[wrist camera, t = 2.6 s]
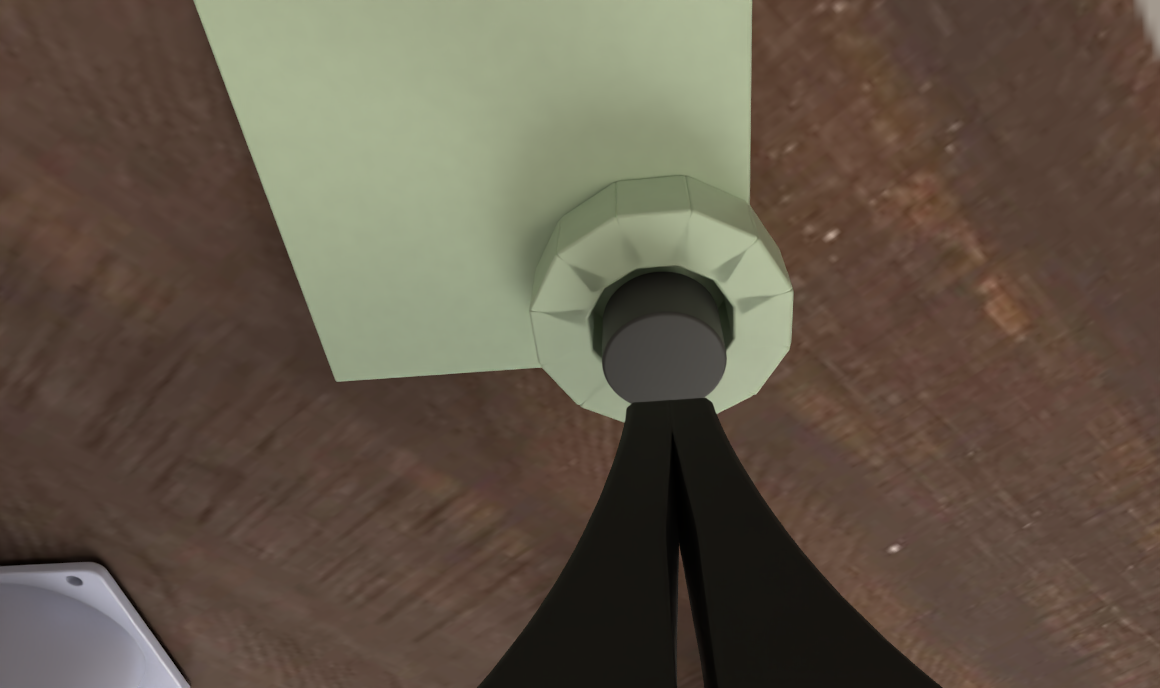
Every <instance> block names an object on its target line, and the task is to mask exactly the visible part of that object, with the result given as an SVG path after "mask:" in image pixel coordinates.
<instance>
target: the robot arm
mask: <svg viewBox="0 0 1160 688" xmlns="http://www.w3.org/2000/svg"><path fill="white" fill-rule="evenodd" d="M679 545H680V550H681V556H682V561H683V567H684V572H685V578H686V583H687V589H688V594H689V600H690V605H691V611H692V616H693V621H694V627H695V632H696V638H697V643H698V649H699V654H700V660H701V666H702V673H703V680H704V687H705V688H942V687H941V686H940V685H939V684H937V683H936V682H935V681H934V680H933V679H931V678H930V677H929V676H928V675H926V674H925V673H924V672H923V671H922V670H920V669H919V668H918V667H917V666H916V665H915V664H913V663H912V662H911V661H910V660H909V659H908V658H907V657H905V656H904V655H903V654H902V653H901V652H900V651H899V650H898V649H896V648H895V647H894V646H893V645H892V644H891V643H890V642H888V641H887V640H886V639H885V638H884V637H883V636H882V635H881V634H880V633H879V632H878V631H877V630H876V629H875V628H874V627H873V626H872V625H871V624H870V623H869V622H868V621H867V620H866V619H865V618H864V617H863V616H862V615H861V614H860V613H859V612H858V611H857V610H856V609H855V608H853V607H852V606H851V605H850V604H849V603H848V602H847V601H846V600H845V599H844V598H843V597H842V596H841V595H840V593H839V592H838V591H837V590H836V589H835V588H834V587H833V586H832V585H831V584H830V582H829V581H828V580H827V579H826V578H825V577H824V576H823V575H822V574H821V573H820V571H819V570H818V569H817V568H816V567H815V566H814V564H813V563H812V562H811V561H810V560H809V559H808V557H807V556H806V555H805V554H804V553H803V551H802V550H801V549H800V548H799V546H798V545H797V544H796V543H795V541H794V540H793V539H792V538H791V536H790V535H789V534H788V532H787V531H786V530H785V528H784V527H783V526H782V524H781V523H780V522H779V520H778V519H777V517H776V516H775V515H774V513H773V512H772V511H771V509H770V508H769V506H768V505H767V503H766V502H765V500H764V499H763V497H762V496H761V494H760V493H759V491H758V490H757V488H756V487H755V485H754V483H753V482H752V480H751V479H750V477H749V475H748V474H747V472H746V471H745V469H744V467H743V466H742V464H741V462H740V461H739V459H738V457H737V455H736V454H735V452H734V450H733V448H732V446H731V444H730V442H729V440H728V438H727V436H726V434H725V432H724V430H723V428H722V426H721V424H720V422H719V419H718V417H717V414H716V412H715V409H714V406H713V403H712V402H711V401H710V400H708V399H707V398H694V399H678V400H663V401H647V402H633V403H632V404H631V405H629V406H628V407H627V409H626V418H625V423H624V428H623V432H622V436H621V440H620V443H619V446H618V450H617V453H616V456H615V459H614V462H613V465H612V467H611V470H610V473H609V475H608V478H607V480H606V483H605V486H604V488H603V491H602V493H601V496H600V498H599V500H598V503H597V505H596V507H595V509H594V511H593V513H592V515H591V518H590V520H589V522H588V524H587V526H586V528H585V530H584V532H583V534H582V536H581V538H580V540H579V542H578V544H577V546H576V548H575V550H574V552H573V553H572V555H571V557H570V559H569V561H568V562H567V564H566V566H565V568H564V569H563V571H562V573H561V574H560V576H559V578H558V579H557V581H556V583H555V584H554V586H553V587H552V589H551V590H550V592H549V593H548V595H547V597H546V598H545V600H544V601H543V603H542V604H541V606H540V607H539V609H538V610H537V612H536V613H535V615H534V616H533V618H532V619H531V620H530V622H529V623H528V625H527V626H526V627H525V629H524V630H523V632H522V633H521V634H520V635H519V637H518V638H517V639H516V640H515V642H514V643H513V644H512V646H511V647H510V648H509V649H508V651H507V652H506V653H505V655H504V656H503V657H502V658H501V660H500V661H499V662H498V663H497V665H496V666H495V667H494V669H493V670H492V671H491V672H490V673H489V675H488V676H487V677H486V678H485V679H484V680H483V682H482V683H481V684H480V685H479V686H478V687H477V688H677V617H678V566H679ZM0 688H191V687H190V685H189V684H188V683H187V681H186V680H185V678H184V677H183V676H182V674H181V673H180V671H179V670H178V669H177V667H176V666H175V664H174V663H173V662H172V660H171V659H170V657H169V656H168V655H167V653H166V652H165V650H164V649H163V648H162V646H161V645H160V643H159V642H158V641H157V639H156V638H155V636H154V635H153V634H152V632H151V631H150V629H149V628H148V627H147V625H146V624H145V622H144V621H143V620H142V618H141V617H140V615H139V614H138V613H137V611H136V610H135V608H134V607H133V606H132V604H131V603H130V601H129V600H128V599H127V597H126V596H125V594H124V593H123V592H122V590H121V589H120V587H119V586H118V584H117V583H116V582H115V580H114V579H113V577H112V576H111V575H110V573H109V572H108V570H107V569H106V568H105V567H104V566H102V565H100V564H98V563H95V562H74V563H54V564H33V565H13V566H0Z"/></svg>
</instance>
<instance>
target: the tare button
mask: <svg viewBox="0 0 1160 688" xmlns="http://www.w3.org/2000/svg"><path fill="white" fill-rule="evenodd" d="M726 361H727V356H726V348H725V343H724V338H723V333H722V328H721V322H720V317H719V312H718V308H717V304H716V302H715V300H714V298H713V296H712V295H711V293H710V292H709V291H708V290H707V289H706V288H705V287H704V286H703V285H702V284H700V283H699V282H697V281H696V280H694V279H692V278H690V277H688V276H686V275H683V274H680V273H675V272H666V271H660V272H650V273H646V274H642V275H639V276H637V277H634V278H633V279H631V280H629V281H627V282H626V283H624V284H623V285H622V286H620V287H619V288H618V289H617V290H616V291H615V292H614V293H613V295H612V296H611V297H610V299H609V301H608V302H607V305H606V307H605V310H604V314H603V334H602V368H603V373H604V376H605V378H606V380H607V382H608V384H609V385H610V387H611V388H612V389H613V391H614V392H615V393H616V394H617V395H618V396H620V397H621V398H622V399H624V400H625V401H627V402H629V403H631V404H632V403H633V402H647V401H663V400H678V399H694V398H705V397H706V396H707V395H709V394H710V393H711V392H712V391H713V390H714V389H715V387H716V386H717V385H718V384H719V382H720V380H721V378H722V376H723V374H724V372H725V368H726Z"/></svg>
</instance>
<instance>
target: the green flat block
mask: <svg viewBox="0 0 1160 688" xmlns="http://www.w3.org/2000/svg"><path fill="white" fill-rule="evenodd" d="M193 1H194V3H195V6H196V9H197V11H198V14H199V17H200V19H201V22H202V25H203V27H204V30H205V33H206V35H207V38H208V41H209V43H210V46H211V49H212V51H213V54H214V57H215V59H216V62H217V65H218V67H219V70H220V73H221V75H222V78H223V81H224V83H225V86H226V89H227V92H228V94H229V97H230V100H231V102H232V105H233V108H234V110H235V113H236V116H237V118H238V121H239V124H240V126H241V129H242V132H243V134H244V137H245V140H246V142H247V145H248V148H249V150H250V153H251V156H252V158H253V161H254V164H255V166H256V169H257V172H258V174H259V177H260V180H261V183H262V185H263V188H264V191H265V193H266V196H267V199H268V201H269V204H270V207H271V209H272V212H273V215H274V217H275V220H276V223H277V225H278V228H279V231H280V233H281V236H282V239H283V241H284V244H285V247H286V249H287V252H288V255H289V257H290V260H291V263H292V265H293V268H294V271H295V273H296V276H297V279H298V282H299V284H300V287H301V290H302V292H303V295H304V298H305V300H306V303H307V306H308V308H309V311H310V314H311V316H312V319H313V322H314V324H315V327H316V330H317V332H318V335H319V338H320V340H321V343H322V346H323V348H324V351H325V354H326V356H327V359H328V362H329V364H330V367H331V370H332V373H333V375H334V378H335V380H336V381H338V382H340V381H354V380H368V379H383V378H397V377H411V376H425V375H440V374H454V373H468V372H482V371H497V370H511V369H525V368H539V367H542V368H543V369H544V370H545V371H546V372H547V373H548V374H549V375H550V376H551V377H552V378H553V380H554V381H555V382H556V383H557V384H558V385H559V386H560V387H561V388H562V389H563V390H564V391H565V392H566V393H567V394H568V395H569V396H570V397H571V399H572V400H573V401H574V402H575V403H576V404H578V405H580V406H581V407H582V408H585V409H588V410H591V411H593V412H596V413H599V414H602V415H605V416H608V417H610V418H613V419H616V420H619V421H622V422H625V418H626V409H627V407H628V406H629V405H631V403H629V402H627V401H625V400H624V399H622V398H621V397H620V396H618V395H617V394H616V393H615V392H614V391H613V389H612V388H611V387H610V385H609V384H608V382H607V380H606V378H605V376H604V373H603V368H602V334H603V314H604V310H605V307H606V305H607V302H608V301H609V299H610V297H611V296H612V295H613V293H614V292H615V291H616V290H617V289H618V288H619V287H620V286H622V285H623V284H624V283H626V282H627V281H629V280H631V279H633V278H634V277H637V276H639V275H642V274H646V273H650V272H660V271H666V272H675V273H680V274H683V275H686V276H688V277H690V278H692V279H694V280H696V281H697V282H699V283H700V284H702V285H703V286H704V287H705V288H706V289H707V290H708V291H709V292H710V293H711V295H712V296H713V298H714V300H715V302H716V304H717V308H718V312H719V317H720V322H721V328H722V333H723V338H724V343H725V348H726V356H727V361H726V368H725V372H724V374H723V376H722V378H721V380H720V382H719V384H718V385H717V386H716V387H715V389H714V390H713V391H712V392H711V393H710V394H709V395H707V396H706V397H705V398H707V399H708V400H710V401H711V402H712V403H713V406H714V409H715V412H716V414H717V413H719V412H721V411H723V410H725V409H727V408H729V407H731V406H733V405H735V404H737V403H739V402H741V401H743V400H745V399H747V398H749V397H751V396H752V395H753V394H754V395H756V394H757V392H758V391H759V390H760V388H761V387H762V386H763V384H764V383H765V382H766V380H767V379H768V378H769V376H770V375H771V374H772V372H773V371H774V370H775V368H776V367H777V366H778V364H779V363H780V362H781V360H782V359H783V357H784V356H785V355H786V353H787V352H788V351H789V349H790V345H791V335H792V315H793V295H794V291H793V288H792V284H791V281H790V279H789V276H788V273H787V270H786V267H785V264H784V261H783V258H782V255H781V252H780V250H779V248H778V246H777V245H776V243H775V242H774V240H773V239H772V237H771V236H770V234H769V233H768V232H767V230H766V229H765V227H764V226H763V224H762V223H761V221H760V220H759V218H758V217H757V215H756V214H755V212H754V211H753V209H752V208H751V206H750V140H751V53H752V0H193Z"/></svg>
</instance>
